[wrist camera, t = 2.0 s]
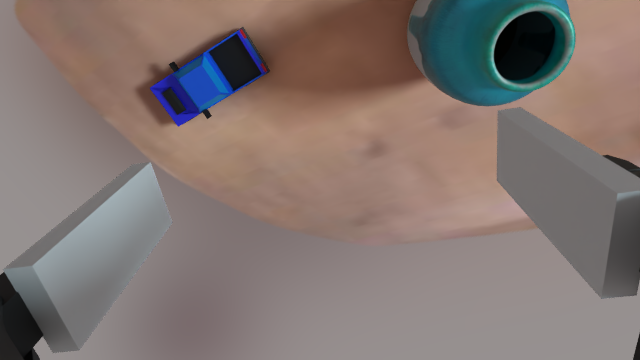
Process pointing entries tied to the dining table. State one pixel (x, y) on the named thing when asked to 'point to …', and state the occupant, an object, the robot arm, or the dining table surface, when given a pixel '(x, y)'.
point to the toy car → (210, 77)
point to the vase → (490, 46)
